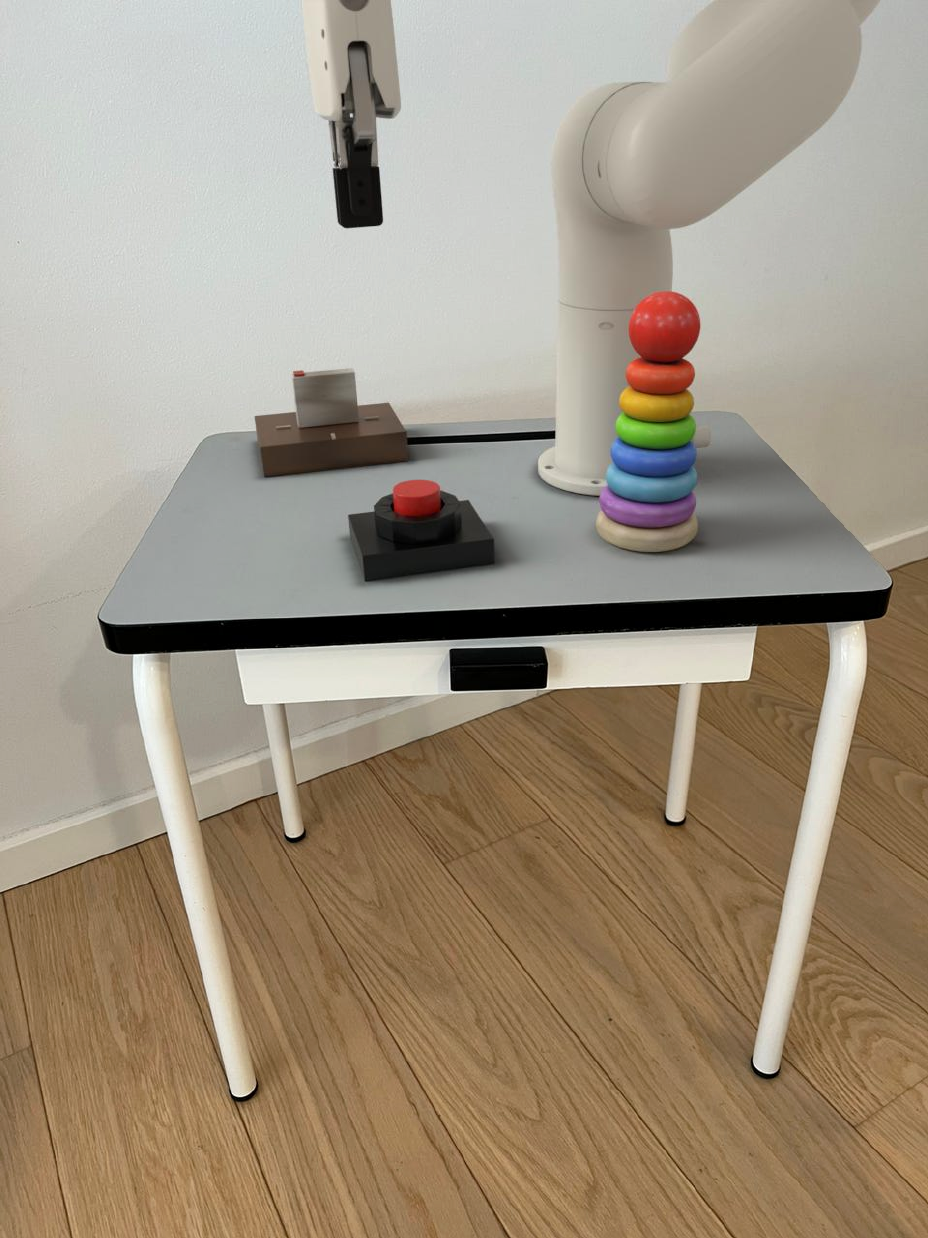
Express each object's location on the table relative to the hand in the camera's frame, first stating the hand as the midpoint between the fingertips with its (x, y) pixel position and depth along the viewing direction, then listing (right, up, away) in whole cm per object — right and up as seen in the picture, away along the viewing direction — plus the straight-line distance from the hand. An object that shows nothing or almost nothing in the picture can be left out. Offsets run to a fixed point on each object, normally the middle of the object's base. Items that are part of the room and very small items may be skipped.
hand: (360, 225), depth 71 cm
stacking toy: (+22, -23, +4) cm, 33 cm away
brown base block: (-6, -13, +24) cm, 28 cm away
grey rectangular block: (-6, -10, +22) cm, 25 cm away
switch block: (+4, -24, +3) cm, 25 cm away
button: (+4, -21, +1) cm, 22 cm away
